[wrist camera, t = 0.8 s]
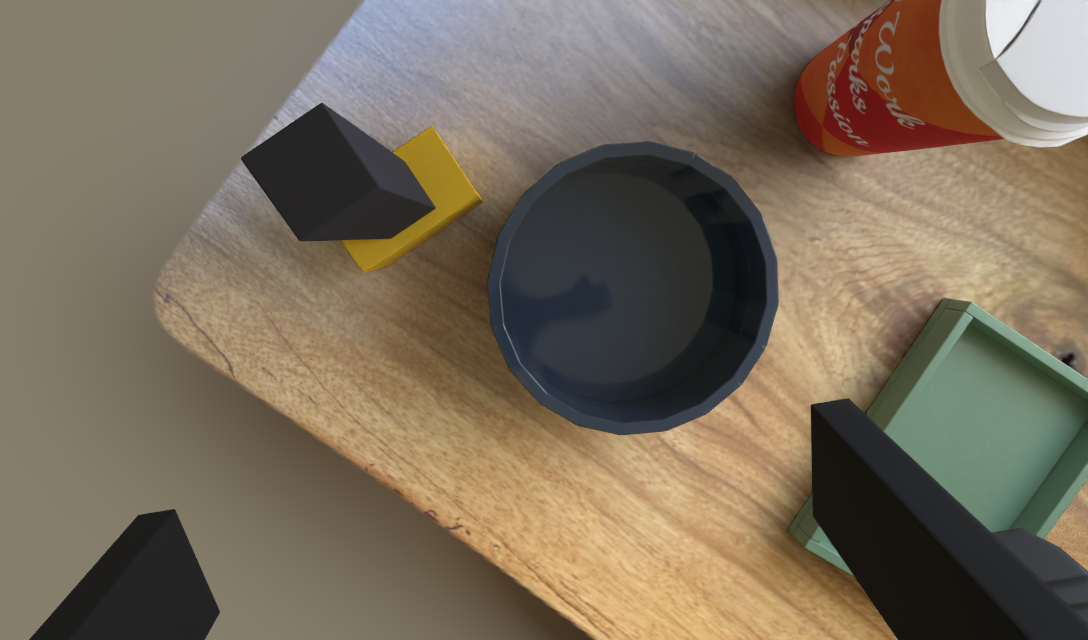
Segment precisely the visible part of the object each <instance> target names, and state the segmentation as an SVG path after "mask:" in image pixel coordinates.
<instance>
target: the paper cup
mask: <svg viewBox="0 0 1088 640" xmlns="http://www.w3.org/2000/svg"><path fill="white" fill-rule="evenodd" d="M794 109H795V116H796V119H797V122H798V125H799V127H800V129H801V131H802V133H803V134H804V136H805V137H806V138H807V139H808V141H809V142H810V143H812V144H813V145H814V146H815V147H817V148H818V149H820V150H822V151H824V152H826V153H829V154H833V155H839V156H858V155H870V154H880V153H889V152H898V151H907V150H916V149H924V148H933V147H941V146H950V145H958V144H966V143H975V142H983V141H991V140H1000V139H1005V140H1007V141H1010V142H1014V143H1017V144H1020V145H1025V146H1033V147H1058V146H1061V145H1063V144H1066V143H1068V142H1070V141H1073V140H1075V139H1077V138H1080V137H1082V136H1085V135H1088V0H890V1H888V2H887V3H886V4H884V5H883V6H882V7H880V8H879V9H877V10H876V11H875V12H873V13H872V14H871V15H869V16H868V17H867V18H865V19H864V20H863V21H861V22H860V23H858V24H857V25H856V26H854V27H853V28H852V29H850V30H849V31H848V32H846V33H845V34H844V35H842V36H841V37H840V38H838V39H837V40H836V41H834V42H833V43H832V44H831V45H829V46H828V47H827V48H825V49H824V50H823V51H822V52H821V53H819V54H818V55H817V56H816V57H815V58H814V59H813V60H812V61H811V62H810V63H809V64H808V66H807V67H806V68H805V70H804V71H803V73H802V75H801V77H800V79H799V81H798V84H797V87H796V91H795V97H794Z"/></svg>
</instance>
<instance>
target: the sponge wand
mask: <svg viewBox="0 0 1088 640" xmlns="http://www.w3.org/2000/svg"><path fill="white" fill-rule="evenodd" d="M241 160H242V162H243V163H244V164H245V166H246V167H247V169H248V170H249V171H250V173H251V174H252V175H253V177H254V178H255V180H256V181H257V182H258V184H259V185H260V187H261V188H262V189H263V191H264V192H265V194H266V195H267V196H268V198H269V199H270V201H271V202H272V203H273V205H274V206H275V208H276V209H277V210H278V212H279V213H280V214H281V216H282V217H283V219H284V220H285V221H286V223H287V224H288V226H289V227H290V228H291V230H292V231H293V233H294V234H295V235H296V237H297V238H298V240H299V241H331V240H340V241H341V242H342V243H343V245H344V246H345V248H346V249H347V251H348V252H349V253H350V255H351V256H352V258H353V259H354V260H355V262H356V263H357V265H358V266H359V268H360V269H361V270H362V272H363V273H365V272H369V271H372V270H376V269H380V268H384V267H387V266H388V265H390V264H391V263H393V262H394V261H396V260H397V259H399V258H400V257H402V256H403V255H405V254H406V253H408V252H409V251H411V250H412V249H414V248H415V247H417V246H418V245H420V244H421V243H423V242H424V241H426V240H427V239H429V238H430V237H432V236H433V235H435V234H436V233H438V232H439V231H441V230H442V229H444V228H445V227H447V226H448V225H449V224H451V223H452V222H454V221H455V220H457V219H458V218H460V217H461V216H463V215H464V214H466V213H467V212H469V211H470V210H472V209H473V208H475V207H476V206H478V205H479V204H481V203H482V202H483V201H482V199H481V198H480V196H479V195H478V193H477V191H476V190H475V188H474V187H473V185H472V184H471V182H470V181H469V179H468V178H467V176H466V175H465V173H464V172H463V170H462V169H461V167H460V166H459V164H458V163H457V161H456V160H455V158H454V157H453V155H452V154H451V152H450V151H449V149H448V148H447V146H446V145H445V143H444V142H443V140H442V139H441V138H440V136H439V135H438V133H437V132H436V130H435V129H434V127H433V126H430V127H429V128H427V129H426V130H424V131H423V132H421V133H420V134H419V135H417V136H416V137H414V138H413V139H411V140H410V141H408V142H407V143H405V144H404V145H402V146H401V147H399V148H398V149H396V150H395V151H393V152H391V151H389V150H388V149H387V148H385V147H384V146H382V145H381V144H380V143H378V142H377V141H375V140H374V139H373V138H371V137H370V136H368V135H367V134H366V133H364V132H363V131H361V130H360V129H359V128H357V127H356V126H354V125H353V124H352V123H350V122H349V121H347V120H346V119H344V118H343V117H342V116H340V115H339V114H337V113H336V112H335V111H333V110H332V109H330V108H329V107H328V106H326V105H325V104H323V103H320V104H319V105H317V106H316V107H314V108H313V109H311V110H310V111H309V112H307V113H306V114H304V115H303V116H301V117H300V118H298V119H297V120H295V121H294V122H292V123H291V124H289V125H288V126H287V127H285V128H284V129H282V130H281V131H279V132H278V133H276V134H275V135H273V136H272V137H270V138H269V139H267V140H266V141H264V142H263V143H262V144H260V145H259V146H257V147H256V148H254V149H253V150H251V151H250V152H248V153H247V154H245V155H244V156H242V158H241Z"/></svg>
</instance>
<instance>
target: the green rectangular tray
mask: <svg viewBox="0 0 1088 640" xmlns="http://www.w3.org/2000/svg"><path fill="white" fill-rule="evenodd" d="M866 415H867V416H868V417H869V418H870V419H871V420H872V421H873V422H874V423H875V424H876V425H877V426H878V427H880V428H881V429H882V430H883V431H884V432H885V433H886V434H887V435H888V436H889V437H890V438H891V439H892V440H893V441H894V442H896V443H897V444H898V445H899V446H900V447H901V448H902V449H903V450H904V451H905V452H906V453H907V454H908V455H909V456H910V457H912V458H913V459H914V460H915V461H916V462H917V463H918V464H919V465H920V466H921V467H922V468H923V469H924V470H925V471H926V472H927V473H929V474H930V475H931V476H932V477H933V478H934V479H935V480H936V481H937V482H938V483H939V484H940V485H941V486H942V487H943V488H945V489H946V490H947V491H948V492H949V493H950V494H951V495H952V496H953V497H954V498H955V499H956V500H957V501H958V502H959V503H961V504H962V505H963V506H964V507H965V508H966V509H967V510H968V511H969V512H970V513H971V514H972V515H973V516H974V517H975V518H976V519H978V520H979V521H980V522H981V523H982V524H983V525H984V526H985V527H986V528H987V529H988V530H989V531H990V532H997V531H1003V530H1009V529H1016V528H1022V529H1024V530H1026V531H1028V532H1030V533H1032V534H1034V535H1036V536H1038V537H1040V538H1042V539H1045V538H1046V536H1047V535H1048V534H1049V532H1050V531H1051V529H1052V528H1053V527H1054V525H1055V524H1056V522H1057V521H1058V520H1059V518H1060V517H1061V515H1062V514H1063V513H1064V511H1065V510H1066V508H1067V507H1068V506H1069V504H1070V503H1071V501H1072V500H1073V499H1074V497H1075V496H1076V495H1077V493H1078V492H1079V490H1080V489H1081V488H1082V486H1083V485H1084V483H1085V482H1086V481H1087V479H1088V379H1087V378H1085V377H1084V376H1082V375H1081V374H1079V373H1078V372H1076V371H1075V370H1073V369H1072V368H1070V367H1069V366H1067V365H1066V364H1064V363H1063V362H1061V361H1060V360H1058V359H1057V358H1055V357H1054V356H1052V355H1051V354H1049V353H1048V352H1046V351H1045V350H1043V349H1042V348H1040V347H1039V346H1037V345H1036V344H1034V343H1033V342H1031V341H1030V340H1028V339H1027V338H1025V337H1024V336H1022V335H1021V334H1019V333H1018V332H1016V331H1015V330H1013V329H1012V328H1010V327H1009V326H1007V325H1006V324H1004V323H1003V322H1001V321H1000V320H998V319H997V318H995V317H994V316H992V315H991V314H989V313H988V312H986V311H985V310H983V309H982V308H980V307H979V306H977V305H976V304H974V303H973V302H968V301H962V300H955V299H949V298H943V300H942V301H941V303H940V304H939V306H938V307H937V309H936V310H935V312H934V313H933V315H932V316H931V318H930V319H929V321H928V322H927V324H926V325H925V327H924V328H923V330H922V331H921V333H920V334H919V336H918V337H917V338H916V340H915V341H914V343H913V344H912V346H911V347H910V349H909V350H908V352H907V353H906V355H905V356H904V358H903V359H902V361H901V362H900V364H899V365H898V367H897V368H896V370H895V371H894V373H893V374H892V375H891V377H890V378H889V380H888V381H887V383H886V384H885V386H884V387H883V389H882V390H881V392H880V393H879V395H878V396H877V398H876V399H875V401H874V402H873V404H872V405H871V407H870V408H869V410H868V411H867V412H866ZM788 531H789V532H790V533H791V534H792V535H793V536H794V537H795V538H796V539H797V541H798V542H799V543H800V544H801V545H802V546H803V547H804V548H805V549H807V550H809V551H811V552H812V553H814V554H816V555H817V556H819V557H821V558H823V559H824V560H826V561H828V562H829V563H831V564H833V565H834V566H836V567H838V568H840V569H841V570H843V571H845V572H846V573H848V574H850V575H851V576H853V577H854V575H853V574H852V572H851V571H850V570H849V568H848V567H847V565H846V564H845V562H844V561H843V559H842V558H841V557H840V555H839V554H838V552H837V551H836V549H835V548H834V546H833V545H832V543H831V542H830V541H829V539H828V538H827V536H826V535H825V533H824V532H823V530H822V529H821V528H820V526H819V525H818V523H817V522H816V520H815V519H814V517H813V502H812V494H811V495H810V497H809V498H808V500H807V501H806V503H805V504H804V506H803V507H802V509H801V510H800V512H799V513H798V515H797V516H796V518H795V519H794V521H793V522H792V523H791V525H790V526H789V528H788Z"/></svg>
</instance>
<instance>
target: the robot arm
mask: <svg viewBox="0 0 1088 640" xmlns="http://www.w3.org/2000/svg"><path fill="white" fill-rule="evenodd" d="M811 444H812V502H813V517H814V519H815V520H816V522H817V523H818V525H819V526H820V528H821V529H822V530H823V532H824V533H825V535H826V536H827V538H828V539H829V541H830V542H831V543H832V545H833V546H834V548H835V549H836V551H837V552H838V554H839V555H840V557H841V558H842V559H843V561H844V562H845V564H846V565H847V567H848V568H849V570H850V571H851V572H852V574H853V575H854V577H855V578H856V580H857V581H858V583H859V584H860V585H861V587H862V588H863V590H864V591H865V593H866V594H867V596H868V597H869V598H870V600H871V601H872V603H873V604H874V606H875V607H876V609H877V610H878V611H879V613H880V614H881V616H882V617H883V619H884V620H885V622H886V623H887V625H888V626H889V627H890V629H891V630H892V632H893V633H894V635H895V636H896V638H897V639H898V640H1088V571H1087V570H1086V569H1085V568H1084V567H1082V566H1081V565H1080V564H1079V563H1078V562H1076V561H1075V560H1074V559H1073V558H1072V557H1071V556H1069V555H1068V554H1067V553H1066V552H1065V551H1063V550H1062V549H1061V548H1060V547H1058V546H1056V545H1054V544H1052V543H1050V542H1048V541H1046V540H1044V539H1042V538H1040V537H1038V536H1036V535H1034V534H1032V533H1030V532H1028V531H1026V530H1024V529H1022V528H1016V529H1009V530H1003V531H997V532H990V531H989V530H988V529H987V528H986V527H985V526H984V525H983V524H982V523H981V522H980V521H979V520H978V519H976V518H975V517H974V516H973V515H972V514H971V513H970V512H969V511H968V510H967V509H966V508H965V507H964V506H963V505H962V504H961V503H959V502H958V501H957V500H956V499H955V498H954V497H953V496H952V495H951V494H950V493H949V492H948V491H947V490H946V489H945V488H943V487H942V486H941V485H940V484H939V483H938V482H937V481H936V480H935V479H934V478H933V477H932V476H931V475H930V474H929V473H927V472H926V471H925V470H924V469H923V468H922V467H921V466H920V465H919V464H918V463H917V462H916V461H915V460H914V459H913V458H912V457H910V456H909V455H908V454H907V453H906V452H905V451H904V450H903V449H902V448H901V447H900V446H899V445H898V444H897V443H896V442H894V441H893V440H892V439H891V438H890V437H889V436H888V435H887V434H886V433H885V432H884V431H883V430H882V429H881V428H880V427H878V426H877V425H876V424H875V423H874V422H873V421H872V420H871V419H870V418H869V417H868V416H867V415H866V414H865V413H864V412H862V411H861V410H860V409H859V408H858V407H857V406H856V405H855V404H854V403H853V402H852V401H851V400H850V399H849V398H848V399H842V400H836V401H830V402H824V403H818V404H812V405H811ZM219 613H220V611H219V609H218V606H217V604H216V602H215V600H214V597H213V595H212V593H211V591H210V588H209V586H208V584H207V581H206V579H205V577H204V575H203V572H202V570H201V568H200V566H199V563H198V561H197V558H196V557H195V554H194V552H193V549H192V547H191V545H190V543H189V540H188V538H187V536H186V534H185V531H184V529H183V527H182V524H181V522H180V520H179V518H178V515H177V513H176V511H175V509H172V510H166V511H161V512H154V513H148V514H143V515H138V516H137V517H136V518H135V520H134V521H133V522H132V523H131V524H130V525H129V526H128V527H127V529H126V530H125V531H124V532H123V533H122V534H121V536H120V537H119V538H118V539H117V540H116V541H115V542H114V543H113V545H112V546H111V547H110V548H109V549H108V550H107V551H106V553H105V554H104V555H103V556H102V557H101V558H100V559H99V561H98V562H97V563H96V564H95V565H94V566H93V568H92V569H91V570H90V571H89V572H88V573H87V574H86V575H85V577H84V578H83V579H82V580H81V581H80V582H79V583H78V585H77V586H76V587H75V588H74V589H73V590H72V591H71V593H70V594H69V595H68V596H67V597H66V598H65V599H64V601H63V602H62V603H61V604H60V605H59V606H58V607H57V609H56V610H55V611H54V612H53V613H52V614H51V616H50V617H49V618H48V619H47V620H46V621H45V622H44V623H43V625H42V626H41V627H40V628H39V629H38V630H37V631H36V633H35V634H34V635H33V636H32V637H31V638H30V639H29V640H205V638H206V636H207V635H208V633H209V631H210V629H211V627H212V626H213V624H214V622H215V620H216V618H217V617H218V615H219Z"/></svg>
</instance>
